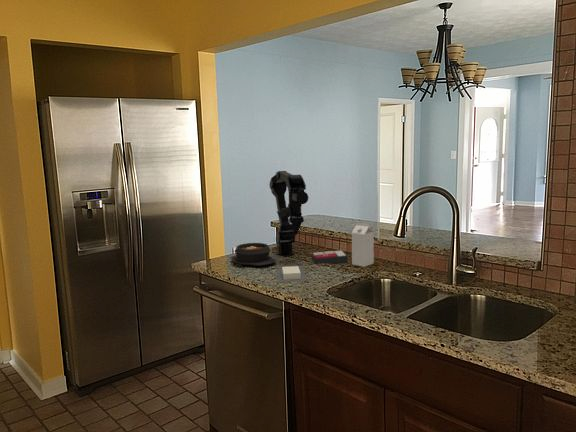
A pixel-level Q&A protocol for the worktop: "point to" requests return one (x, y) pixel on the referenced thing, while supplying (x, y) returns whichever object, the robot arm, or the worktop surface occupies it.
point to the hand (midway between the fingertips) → (295, 234)
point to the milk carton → (362, 245)
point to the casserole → (253, 254)
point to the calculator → (329, 257)
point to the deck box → (291, 273)
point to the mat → (280, 279)
